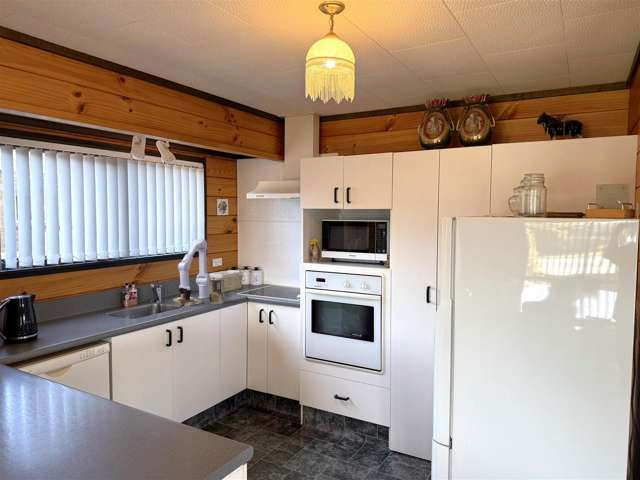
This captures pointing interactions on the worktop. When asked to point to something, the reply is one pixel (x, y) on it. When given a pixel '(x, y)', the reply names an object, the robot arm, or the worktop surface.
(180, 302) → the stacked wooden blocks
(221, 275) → the storage basket
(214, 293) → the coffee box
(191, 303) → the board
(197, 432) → the worktop surface
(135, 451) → the worktop surface
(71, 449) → the worktop surface
